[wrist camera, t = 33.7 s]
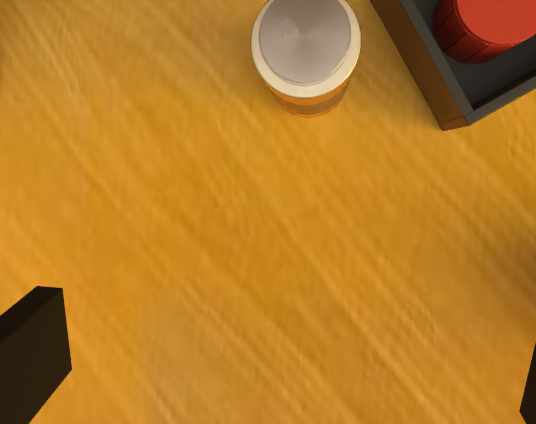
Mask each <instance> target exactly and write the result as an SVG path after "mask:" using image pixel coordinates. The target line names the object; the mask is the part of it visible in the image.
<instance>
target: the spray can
mask: <svg viewBox="0 0 536 424" xmlns="http://www.w3.org/2000/svg"><path fill="white" fill-rule="evenodd" d="M250 46H251V54H252V59H253V62H254V65H255V67H256V69H257V71H258V73H259V74H260V76H261V77H262V79H263V80H264V81H265V83H266V84H267V86H268V87H269V89H270V90H271V92H272V93H273V94H274V96H275V97H276V98H277V100H278V101H279V102H280V104H281V105H282V106H283V107H284V108H285V109H286V110H288V111H289V112H291V113H293V114H295V115H297V116H301V117H317V116H321V115H324V114H326V113H328V112H329V111H331V110H332V109H333V108H334V107H336V106H337V104H338V103H339V102H340V101H341V99H342V97H343V95H344V93H345V91H346V89H347V86H348V84H349V81H350V79H351V76H352V74H353V71H354V68H355V65H356V63H357V60H358V57H359V54H360V49H361V30H360V25H359V22H358V19H357V16H356V14H355V12H354V10H353V9H352V7H351V6H350V5H349V3H348V2H347V1H346V0H268V1H267V2H266V4H265V5H264V6H263V7H262V9H261V10H260V12H259V13H258V15H257V17H256V19H255V22H254V25H253V28H252V32H251V41H250Z"/></svg>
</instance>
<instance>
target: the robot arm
mask: <svg viewBox="0 0 536 424" xmlns="http://www.w3.org/2000/svg"><path fill="white" fill-rule="evenodd" d="M71 370H72V366H71V357H70V349H69V340H68V332H67V323H66V315H65V306H64V298H63V289H62V288H54V287H42V286H37V287H35V288H34V289H33V290H32V291H30V292H29V293H28V294H27V295H25V296H24V297H23V298H22V299H21V300H19V301H18V302H17V303H16V304H14V305H13V306H12V307H11V308H9V309H8V310H7V311H6V312H4V313H3V314H2V315H1V316H0V424H29V423H30V421H31V420H32V419H33V418H34V416H35V415H36V414H37V413H38V411H39V410H40V409H41V408H42V406H43V405H44V404H45V403H46V401H47V400H48V399H49V398H50V396H51V395H52V394H53V392H54V391H55V390H56V389H57V387H58V386H59V385H60V384H61V382H62V381H63V380H64V379H65V377H66V376H67V375H68V374H69V372H70V371H71ZM520 413H521V415H522V417H523V419H524V420H525V422H526V424H536V344H535V348H534V352H533V356H532V360H531V365H530V369H529V373H528V377H527V381H526V386H525V390H524V394H523V398H522V402H521V407H520Z"/></svg>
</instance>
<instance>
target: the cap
mask: <svg viewBox="0 0 536 424" xmlns="http://www.w3.org/2000/svg"><path fill="white" fill-rule="evenodd" d="M432 32H433V33H434V34H433V36H434V37H435V39H436V41H437V43H438V45H439V47H440V49H441V51H442V52H443V51H444V54H446V55H447V56H449V57H451V58H453V59H454V60H456V61H458V62H460V63H463V64H476V63H486V62H488V61H489V60H491V59H493V58H495V57H496V56H498V55H500V54H502V53H504V52H505V51H507V50H509V49H511V48H512V47H514V46H516V45H518V44H519V43H521V42H523V41H525V40H526V39H528V38H530V37H532V36H533V35H535V34H536V0H440V1H439V2H438V4H437V6H436V7H435V9H434V12H433V30H432Z"/></svg>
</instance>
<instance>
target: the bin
mask: <svg viewBox="0 0 536 424" xmlns="http://www.w3.org/2000/svg"><path fill="white" fill-rule="evenodd" d="M370 1H371V2H372V4H373V6H374V8H375V10H376V11H377V13H378V15H379V17H380V19H381V20H382V22H383V24H384V26H385V28H386V29H387V31H388V33H389V35H390V37H391V38H392V40H393V42H394V44H395V46H396V47H397V49H398V51H399V53H400V55H401V56H402V58H403V60H404V62H405V64H406V66H407V67H408V69H409V71H410V73H411V75H412V76H413V78H414V80H415V82H416V84H417V85H418V87H419V89H420V91H421V93H422V94H423V96H424V98H425V100H426V102H427V103H428V105H429V107H430V109H431V111H432V112H433V114H434V116H435V118H436V120H437V121H438V123H439V125H440V127H441V129H442V130H443V131H446V130H451V129H455V128H460V127H465V126H470V125H471V124H473V123H475V122H477V121H478V120H480V119H482V118H484V117H486V116H487V115H489V114H491V113H493V112H495V111H496V110H498V109H500V108H502V107H503V106H505V105H507V104H509V103H511V102H512V101H514V100H516V99H518V98H519V97H521V96H523V95H525V94H527V93H528V92H530V91H532V90H534V89H536V34H535V35H533V36H532V37H530V38H528V39H526V40H525V41H523V42H521V43H519V44H518V45H516V46H514V47H512V48H511V49H509V50H507V51H505V52H504V53H502V54H500V55H498V56H496V57H495V58H493V59H491V60H489V61H488V62H486V63H476V64H463V63H460V62H458V61H456V60H454V59H453V58H451V57H449V56H447V55H446V54H444V51H443V52H442V51H441V49H440V47H439V45H438V43H437V41H436V39H435V37H434V36H433V34H434V33H433V32H432V30H433V12H434V9H435V7H436V6H437V4H438V2H439V1H440V0H370Z"/></svg>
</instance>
